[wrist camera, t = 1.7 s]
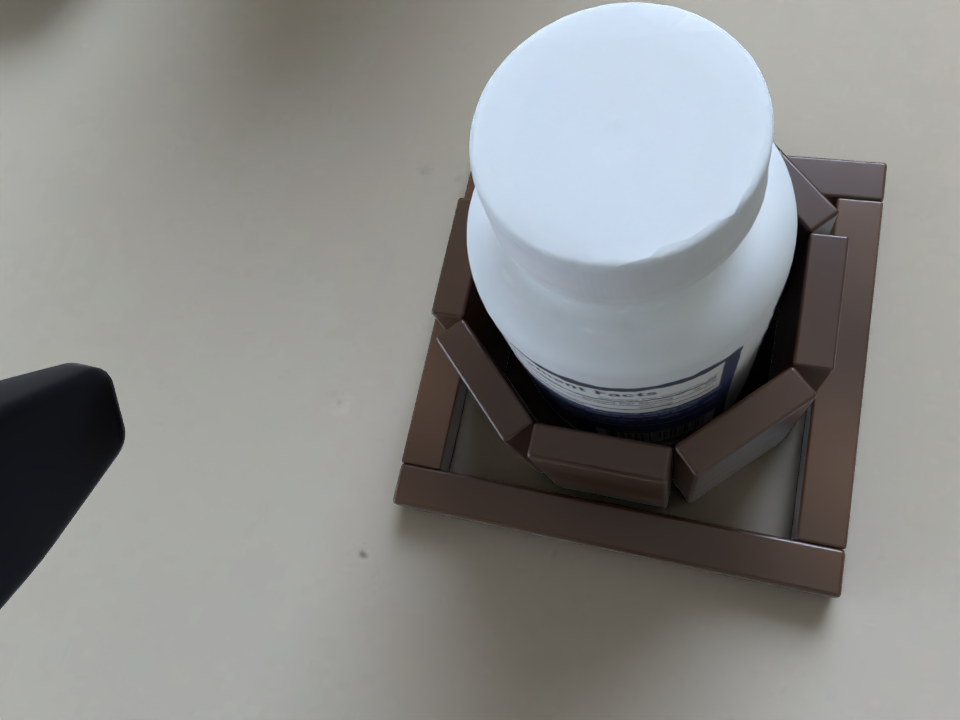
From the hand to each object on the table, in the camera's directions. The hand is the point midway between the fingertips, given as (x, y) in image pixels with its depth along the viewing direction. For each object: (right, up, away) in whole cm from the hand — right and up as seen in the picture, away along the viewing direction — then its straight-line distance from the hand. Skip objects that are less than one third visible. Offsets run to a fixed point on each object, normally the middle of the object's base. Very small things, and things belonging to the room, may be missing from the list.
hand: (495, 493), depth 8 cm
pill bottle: (+4, +2, +12) cm, 13 cm away
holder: (+4, +2, +12) cm, 12 cm away
